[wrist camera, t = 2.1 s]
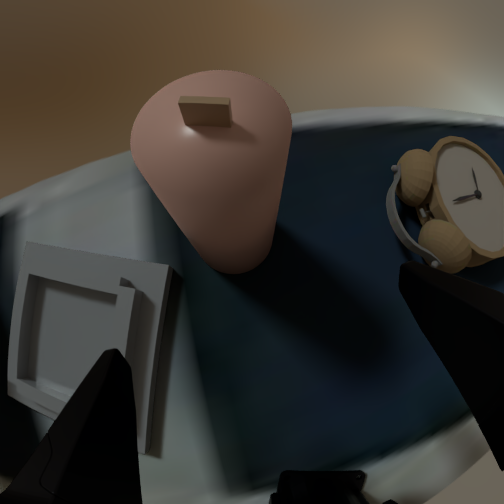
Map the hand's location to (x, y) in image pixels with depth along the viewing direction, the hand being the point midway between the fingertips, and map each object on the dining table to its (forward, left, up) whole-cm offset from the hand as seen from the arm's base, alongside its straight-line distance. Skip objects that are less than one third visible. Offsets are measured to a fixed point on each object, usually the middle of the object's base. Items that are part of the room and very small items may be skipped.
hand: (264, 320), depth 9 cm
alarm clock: (-15, -11, -13) cm, 23 cm away
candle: (+3, -6, -12) cm, 14 cm away
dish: (+14, +4, -12) cm, 19 cm away
